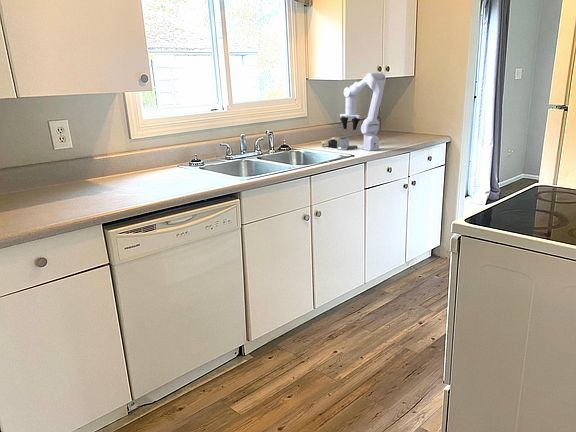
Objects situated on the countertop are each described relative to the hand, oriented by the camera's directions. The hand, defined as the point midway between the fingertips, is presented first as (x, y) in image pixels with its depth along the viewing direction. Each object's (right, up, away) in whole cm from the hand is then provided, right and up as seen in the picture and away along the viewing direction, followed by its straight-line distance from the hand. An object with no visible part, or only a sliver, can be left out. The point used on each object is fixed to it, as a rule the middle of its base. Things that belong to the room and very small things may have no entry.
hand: (349, 129), depth 293 cm
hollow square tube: (-6, -13, -12) cm, 19 cm away
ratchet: (-3, -14, -10) cm, 18 cm away
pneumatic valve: (-18, -9, 0) cm, 20 cm away
